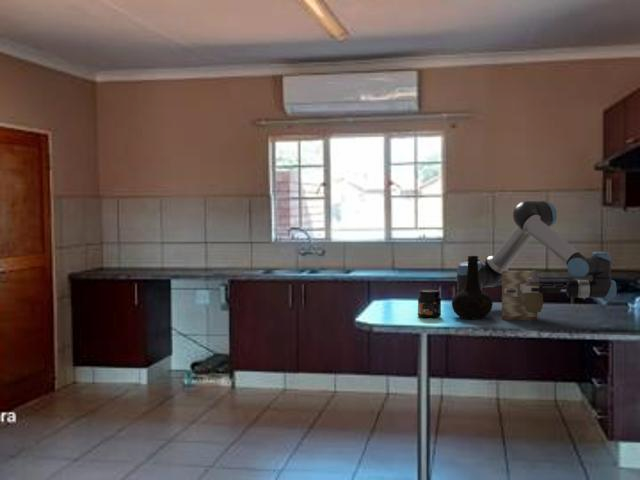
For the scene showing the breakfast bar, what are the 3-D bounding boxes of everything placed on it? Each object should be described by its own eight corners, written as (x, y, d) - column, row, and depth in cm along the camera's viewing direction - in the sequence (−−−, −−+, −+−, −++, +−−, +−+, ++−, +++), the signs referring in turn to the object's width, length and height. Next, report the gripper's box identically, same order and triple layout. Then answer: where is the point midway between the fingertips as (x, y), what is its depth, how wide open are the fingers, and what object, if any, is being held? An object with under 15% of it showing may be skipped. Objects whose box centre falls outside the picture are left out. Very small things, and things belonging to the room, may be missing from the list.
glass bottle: (450, 320, 333) (450, 256, 332) (453, 314, 350) (454, 254, 349) (491, 321, 328) (491, 257, 327) (493, 315, 346) (493, 254, 344)
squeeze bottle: (541, 310, 325) (542, 268, 324) (545, 313, 317) (545, 270, 316) (522, 310, 326) (522, 268, 325) (525, 313, 318) (526, 270, 317)
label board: (501, 319, 334) (502, 271, 333) (501, 317, 339) (502, 270, 338) (537, 320, 330) (537, 271, 329) (536, 318, 336) (536, 270, 335)
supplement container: (413, 317, 342) (413, 291, 341) (424, 314, 350) (424, 289, 349) (434, 319, 335) (434, 292, 335) (445, 316, 344) (445, 290, 343)
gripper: (582, 300, 310) (525, 300, 312) (571, 294, 329) (517, 294, 331) (583, 282, 309) (525, 282, 312) (571, 277, 329) (517, 277, 331)
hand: (521, 288), depth 321 cm, fingers closed on squeeze bottle, 6 cm apart
